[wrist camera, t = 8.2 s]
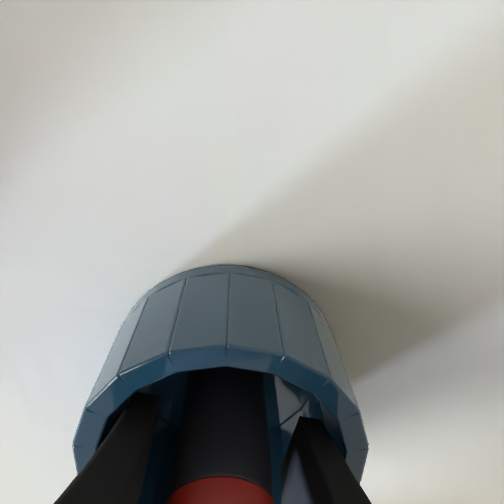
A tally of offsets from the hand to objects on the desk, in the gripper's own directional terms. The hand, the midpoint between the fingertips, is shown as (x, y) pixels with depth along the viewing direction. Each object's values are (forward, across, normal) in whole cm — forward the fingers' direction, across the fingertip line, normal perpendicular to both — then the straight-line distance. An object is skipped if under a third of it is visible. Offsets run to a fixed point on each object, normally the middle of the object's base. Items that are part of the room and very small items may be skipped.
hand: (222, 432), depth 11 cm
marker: (+2, 0, 0) cm, 2 cm away
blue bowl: (+3, 0, 0) cm, 3 cm away
